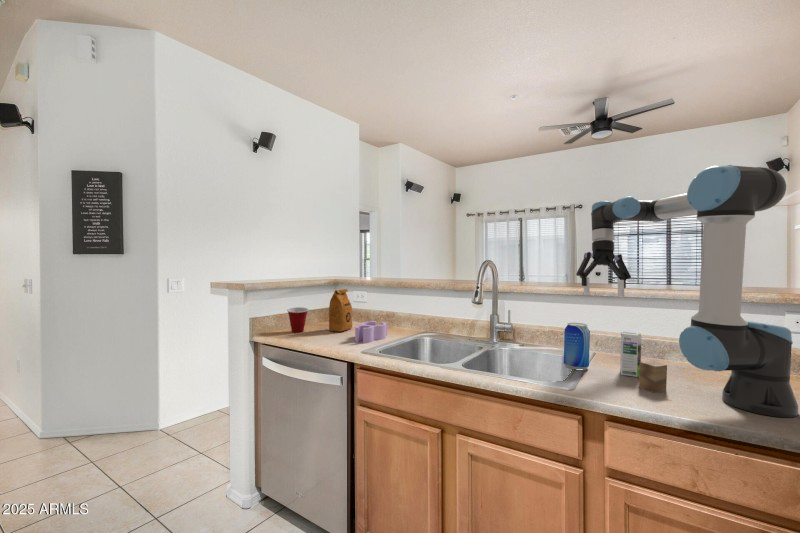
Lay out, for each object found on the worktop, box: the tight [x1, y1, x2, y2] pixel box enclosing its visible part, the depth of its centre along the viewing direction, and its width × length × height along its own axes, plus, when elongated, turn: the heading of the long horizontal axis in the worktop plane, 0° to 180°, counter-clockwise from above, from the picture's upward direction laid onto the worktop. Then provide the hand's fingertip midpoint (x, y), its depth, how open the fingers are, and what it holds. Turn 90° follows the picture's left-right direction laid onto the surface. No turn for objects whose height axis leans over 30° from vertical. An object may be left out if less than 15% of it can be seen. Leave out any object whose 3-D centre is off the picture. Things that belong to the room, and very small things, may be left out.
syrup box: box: [619, 330, 642, 378], centre depth 130 cm, size 6×6×14 cm
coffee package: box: [328, 288, 353, 333], centre depth 199 cm, size 10×12×22 cm
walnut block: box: [638, 360, 668, 394], centre depth 116 cm, size 5×5×8 cm
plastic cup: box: [286, 306, 309, 334], centre depth 195 cm, size 11×11×12 cm
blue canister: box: [563, 322, 591, 371], centre depth 137 cm, size 8×8×16 cm
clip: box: [354, 320, 388, 344], centre depth 182 cm, size 20×12×7 cm, turn 155°
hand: (603, 296), depth 143 cm, fingers open, 13 cm apart
